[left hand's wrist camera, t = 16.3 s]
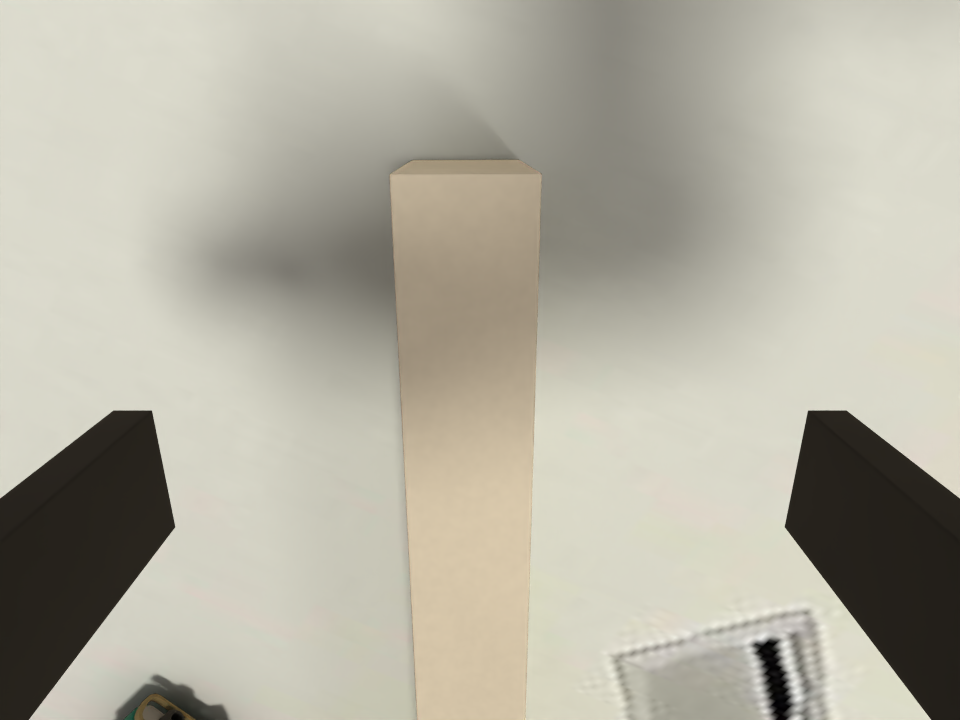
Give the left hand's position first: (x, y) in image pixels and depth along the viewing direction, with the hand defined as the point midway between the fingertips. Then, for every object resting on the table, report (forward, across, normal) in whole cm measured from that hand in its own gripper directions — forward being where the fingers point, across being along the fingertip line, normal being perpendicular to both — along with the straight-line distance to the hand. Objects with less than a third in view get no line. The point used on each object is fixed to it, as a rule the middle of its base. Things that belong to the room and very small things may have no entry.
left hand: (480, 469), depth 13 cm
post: (+17, 0, -23) cm, 29 cm away
